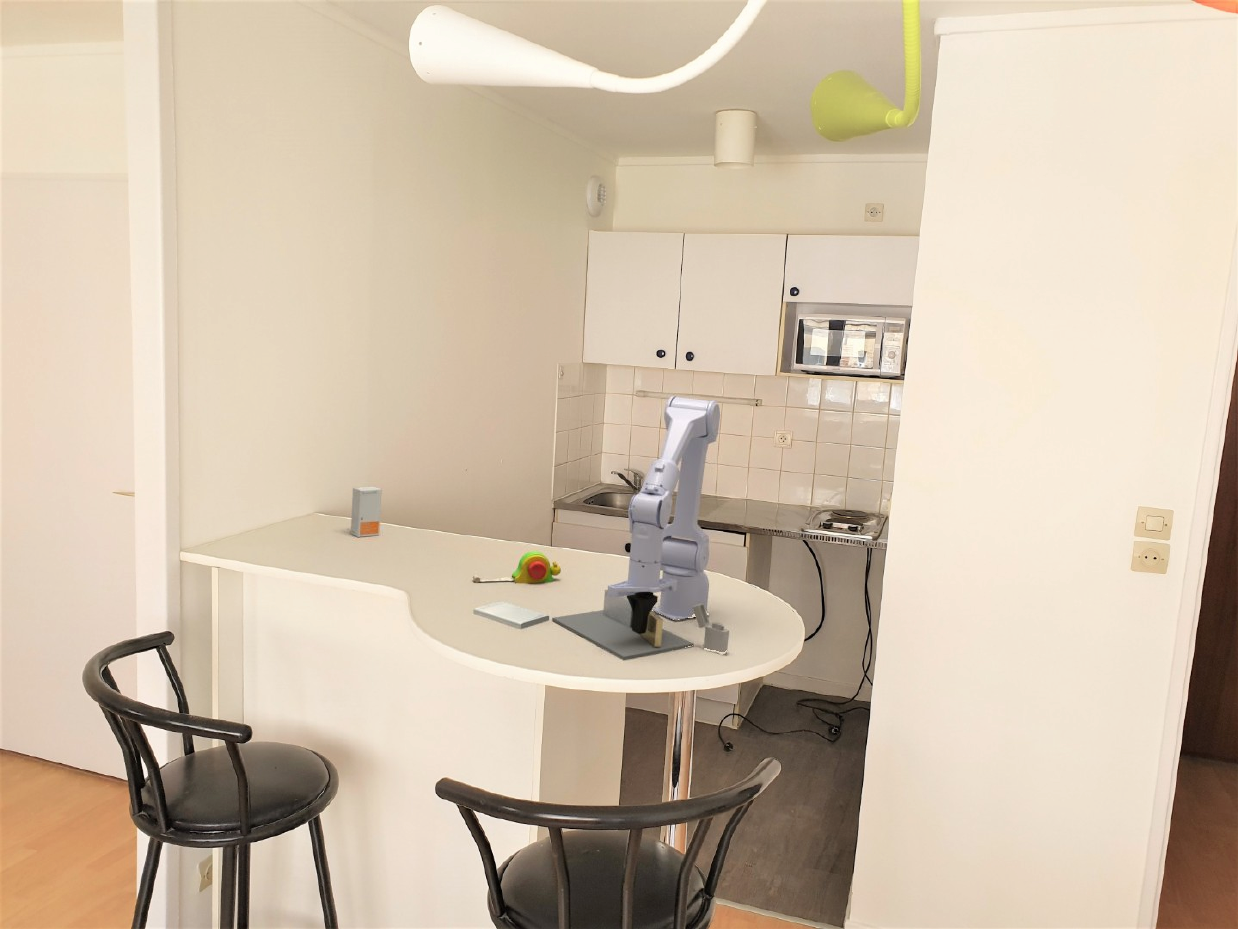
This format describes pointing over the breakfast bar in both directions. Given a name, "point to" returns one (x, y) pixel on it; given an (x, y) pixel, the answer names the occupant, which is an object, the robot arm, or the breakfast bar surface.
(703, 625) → the lighter
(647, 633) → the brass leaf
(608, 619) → the hinge base
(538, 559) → the toy measuring tape
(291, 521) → the breakfast bar surface
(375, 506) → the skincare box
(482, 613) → the hard drive
